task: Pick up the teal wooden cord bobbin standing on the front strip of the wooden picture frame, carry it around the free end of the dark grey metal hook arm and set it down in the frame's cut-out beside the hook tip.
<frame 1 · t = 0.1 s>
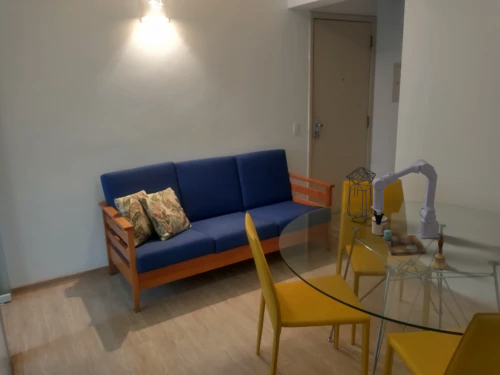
hand: (378, 221, 244), 10 cm above the table, fingers open, 7 cm apart
hook arm: (426, 235, 245), resting in wooden picture frame
hand bell: (439, 266, 212), on the table
bobbin: (387, 239, 241), point 2 cm above the table, touching wooden picture frame
wooden picture frame: (403, 245, 235), on the table
geometric lantern: (360, 219, 274), on the table
teacup with lid: (380, 232, 255), on the table
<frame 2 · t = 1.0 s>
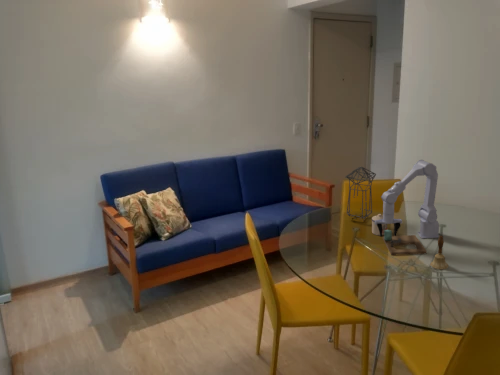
hand: (387, 235, 240), 4 cm above the table, fingers open, 7 cm apart
nothing on the table moved.
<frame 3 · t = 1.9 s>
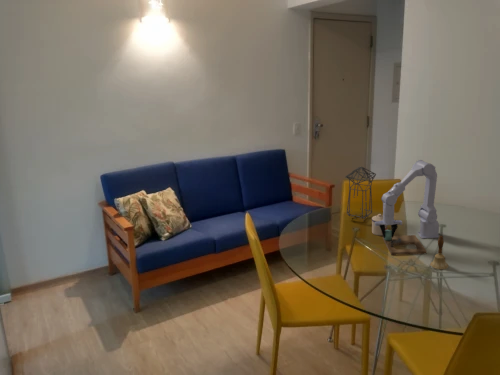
hand: (388, 236, 240), 3 cm above the table, fingers closed on bobbin, 4 cm apart
bobbin: (387, 239, 241), point 2 cm above the table, touching gripper, wooden picture frame
everything else where it was.
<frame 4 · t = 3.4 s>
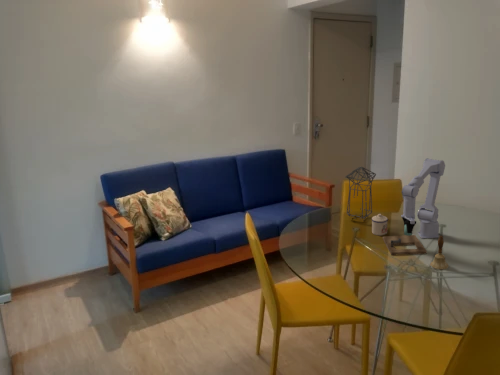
hand: (408, 231, 230), 9 cm above the table, fingers closed on bobbin, 4 cm apart
bobbin: (408, 234, 231), point 8 cm above the table, touching gripper
everything else where it was.
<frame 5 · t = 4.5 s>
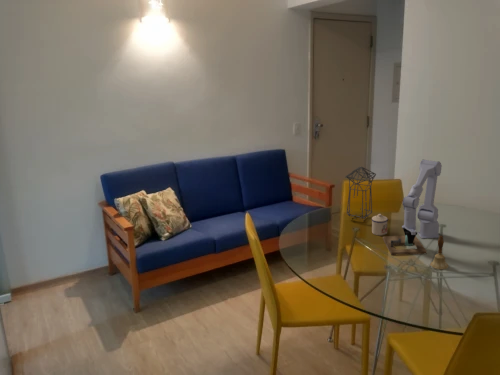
hand: (409, 241, 231), 4 cm above the table, fingers closed on bobbin, 4 cm apart
bobbin: (408, 244, 231), point 2 cm above the table, touching gripper
everything else where it was.
when the fingers open (3 cm above the table, at t = 5.1 s): bobbin drops 1 cm, resting in wooden picture frame.
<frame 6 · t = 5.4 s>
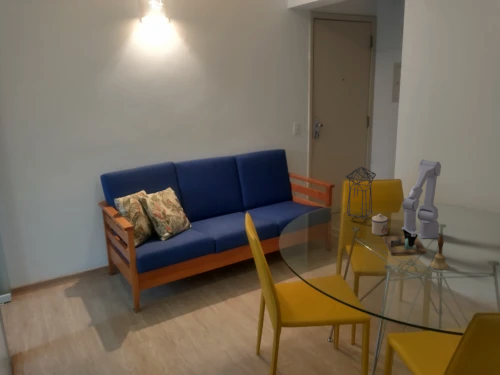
hand: (409, 243, 231), 3 cm above the table, fingers open, 6 cm apart
bobbin: (408, 248, 232), resting in wooden picture frame
everything else where it was.
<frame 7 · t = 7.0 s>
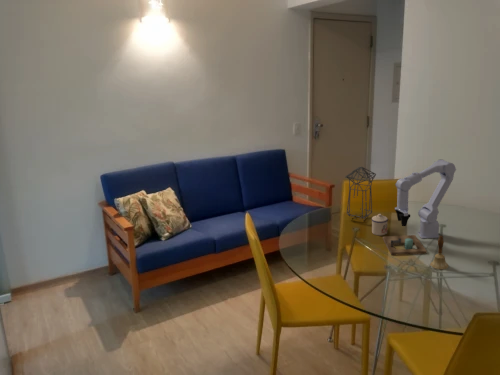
hand: (402, 223, 240), 10 cm above the table, fingers open, 7 cm apart
nothing on the table moved.
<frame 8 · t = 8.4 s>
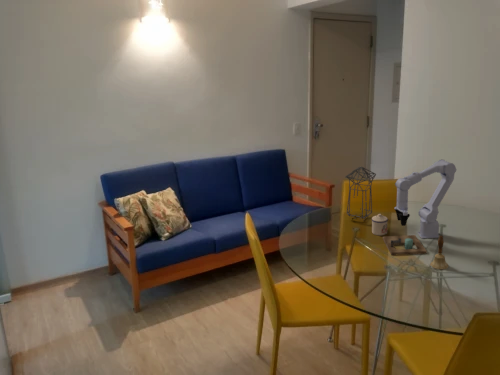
hand: (401, 222, 240), 10 cm above the table, fingers open, 7 cm apart
nothing on the table moved.
at the end: bobbin inside the target area (0.4 cm from its centre), resting in wooden picture frame; bobbin tilted 0°; the gripper is holding nothing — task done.
